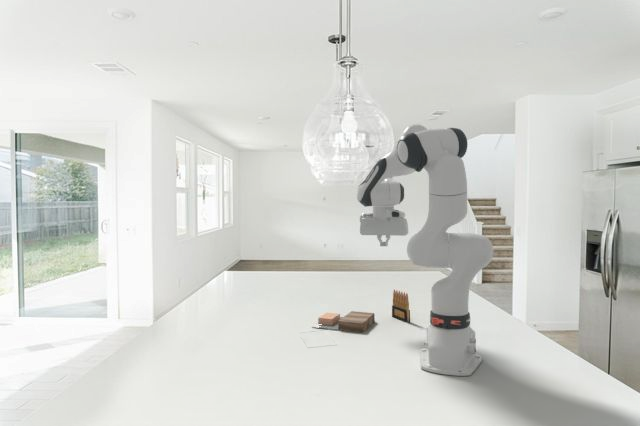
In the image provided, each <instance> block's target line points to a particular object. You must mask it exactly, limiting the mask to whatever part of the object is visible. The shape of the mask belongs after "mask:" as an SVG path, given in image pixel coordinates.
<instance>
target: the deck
mask: <svg viewBox="0 0 640 426" xmlns="http://www.w3.org/2000/svg"><path fill="white" fill-rule="evenodd" d="M342 317H343V318H342V319H340V320H339V321H338V329H342V330H341V331H345V330H350V331H349V332H354V331H358V332H357V333H364V332H365V331H366V330H367V329H368V328H369V327H370V326H372V325H373V324H374V323H375V321H376V320H375V313H374V312H365V311H355V310H354V311H353V310H352V311H350V312H348V313H347V314H346V315H344V316H342Z"/></svg>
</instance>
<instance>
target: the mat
mask: <svg viewBox="0 0 640 426" xmlns="http://www.w3.org/2000/svg"><path fill="white" fill-rule="evenodd" d="M343 317H344V316H340V319H342V318H343ZM319 326H321V327H319V328H326V329H325V330H328V329H335V330H334V331H337V330H338V321H337V322H336V323H335V324H333V325H323V324H322V325H319ZM319 328H318V329H319ZM338 331H339V330H338Z"/></svg>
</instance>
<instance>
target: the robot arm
mask: <svg viewBox="0 0 640 426" xmlns="http://www.w3.org/2000/svg"><path fill="white" fill-rule="evenodd" d="M467 150H468V139H467V135H466V134H465V132H463V130H461V129H460V128H456V127H446V128H435V129H431V128H429V129H428V128H427V127H426V126H424V125H421V124H411V125H409V126H407V127H406V128H405V129H404V130H403V132H402V133H401V134H400V135H399V138H398V139H397V141H396V142H395V145H394V147H393V148H392V150H391V151H390V152H388V153H387V154H386V155H384V156H383V157H382V158H379V160H377V162H376V163H375V164H374V166H373V168H372V169H371V170H370V172H369V174H367V176H366V178H365V179H364V180H363V181H362V182H360V184H359V185H358V188H357V194H356V196H357V197H356V199H357V201H358V202H359V203H360V204H361V205H362V206H363V207H372V213H362V214H361V215H360V216H359V222H360V225H359V233H360V235H361V236H376V237H377V238H376V239H377V240H378V242H379V247H389V246H388V243H389V241H390V239H391V236H398V237H399V236H402V237H403V236H404V237H405V236H407V235H408V234H409V225H408V221H407V219H406V218H405V217H406V212H404V211H401V210H398V209H396V208H395V206H398V205H401V203H402V202H403V201H404V199H405V187H404V185H403V184H402V183H401V182H399V181H396V180H394V177H401V176H407V175H411V174H414V173H415V172H417V173H420V172H421V171H423V169H425V171H426V173H427V175H428V213H427V218H426V221H425V223H424V225H423V226H422V227H421V229H420V230H419V231H418V232H417V233H415V234H414V235H413V236H411V237H410V238H409V240H408V243H407V246H406V254H407V257H408V259H409V261H410V262H411V263H412V264H413V265H415V266H419V267H425V268H433V269H434V268H436V269H438V268H439V269H441V268H442V269H451V273H450V274H449V275H448V276H446V277H444V278H441V279H440V280H438V281H436V282H435V283H434V284H433V285H432V287H431V294H430V295H431V310H430V313H429V314H430V315H429V323H430V324H428V325H427V326H426V341H425V342H424V347H425V348H421V349H420V350H419V357H420V369H422V370H424V371H427V372H430V373H434V374H440V375H441V374H442V375H446V376H454V377H455V376H458V377H459V376H460V377H461V376H463V377H465V376H466V377H467V376H471V375H472V374H473V373H474V372H475V371H476V369H477V368H478V367H479V366H480V365H481V363H482V361H483V358H484V357H483V356H482V355H481V354H478V353H477V344H476V343H477V342H476V341H477V339H476V338H477V337H476V332H475V330H474V329H473V328H472V327H471V314H470V311H469V297H470V289H471V288H470V287H471V286H472V282H473V280H474V278H475V277H476V276H477V275H478V273H479V272H480V271H481V270H483V269H484V268H486V267H487V266H489V264H490V263H491V261H492V260H493V257H494V246H493V243H492V241H491V240H490V239H489V237H487V236H485V235H483V234H479V233H472V232H447V231H448V229H450V228H451V227H453V226H455V225H457V224H459V223H460V222H462V221H463V220H464V219H465V218H466V217H467V213H468V181H467V172H466V167H465V163H464V160H463V158H464V156H465V155H466V153H467ZM382 236H385V241H383V240H382V238H383V237H382Z"/></svg>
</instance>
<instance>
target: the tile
mask: <svg viewBox="0 0 640 426" xmlns="http://www.w3.org/2000/svg"><path fill="white" fill-rule="evenodd" d="M340 317H341V314H340V313H336V312H335V313H334V312H326V313H324V314H322V315H321V316H319V317H318V319H317V321H318V322H317V323H318V324H323V325H333V324H335V323H336V322H337V321H339V320H340Z"/></svg>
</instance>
